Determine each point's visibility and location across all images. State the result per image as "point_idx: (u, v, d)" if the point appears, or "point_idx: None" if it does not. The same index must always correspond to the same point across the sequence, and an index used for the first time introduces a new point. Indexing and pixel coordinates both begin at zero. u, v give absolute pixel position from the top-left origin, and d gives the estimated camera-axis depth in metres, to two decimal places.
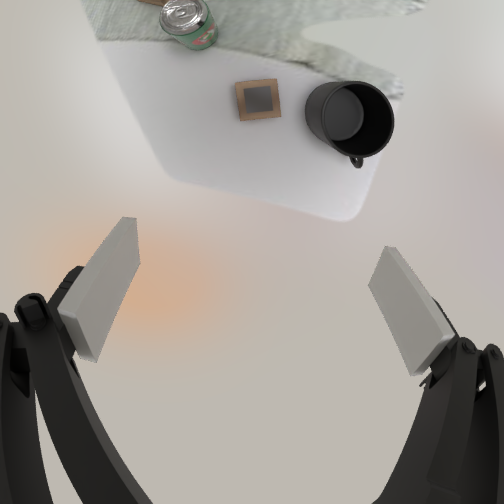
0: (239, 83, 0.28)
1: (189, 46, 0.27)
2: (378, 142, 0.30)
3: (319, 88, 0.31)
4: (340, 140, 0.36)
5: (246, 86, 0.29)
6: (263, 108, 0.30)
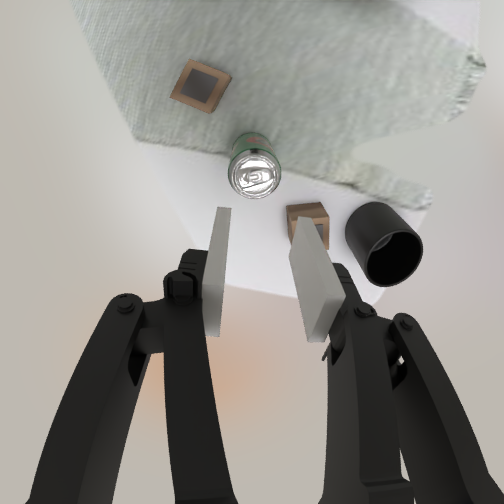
0: (295, 221, 0.35)
1: None
2: (405, 269, 0.36)
3: (362, 215, 0.37)
4: (371, 251, 0.43)
5: None
6: None
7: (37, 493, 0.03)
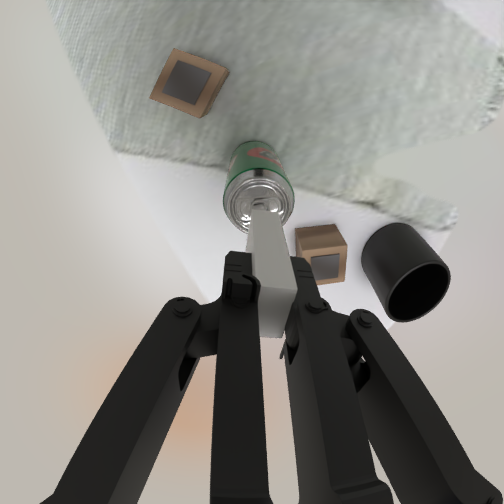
0: (307, 251, 0.29)
1: None
2: (428, 300, 0.30)
3: (383, 239, 0.31)
4: None
5: (314, 254, 0.29)
6: (328, 275, 0.31)
7: (62, 489, 0.03)
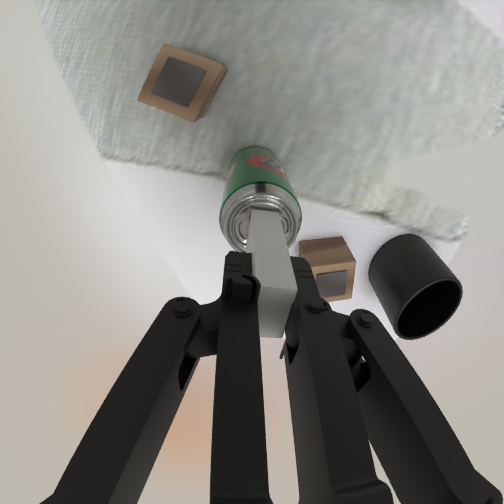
0: (312, 268, 0.26)
1: None
2: (437, 316, 0.28)
3: (393, 253, 0.29)
4: None
5: (320, 271, 0.27)
6: (335, 293, 0.28)
7: (62, 489, 0.03)
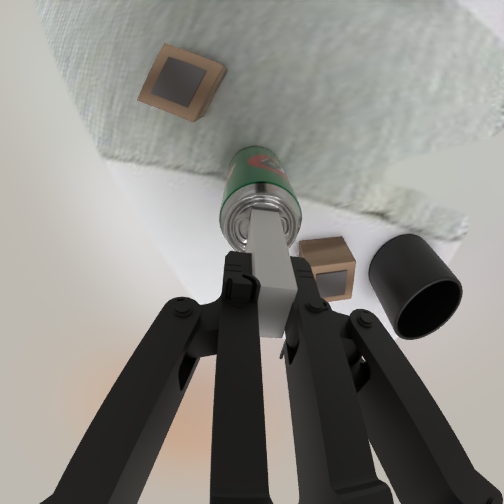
0: (312, 268, 0.26)
1: None
2: (437, 316, 0.28)
3: (393, 253, 0.29)
4: None
5: (320, 271, 0.27)
6: (334, 293, 0.28)
7: (62, 489, 0.03)
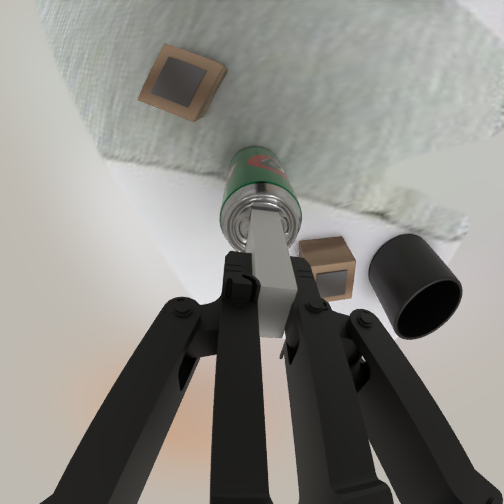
0: (312, 267, 0.26)
1: None
2: (437, 316, 0.28)
3: (393, 253, 0.29)
4: None
5: (320, 271, 0.27)
6: (335, 293, 0.28)
7: (62, 489, 0.03)
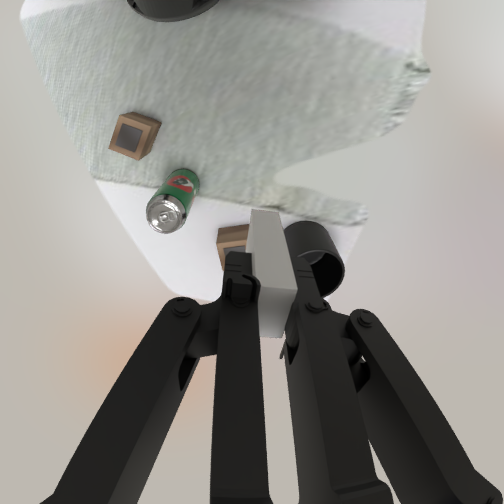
0: (219, 244, 0.41)
1: None
2: (331, 284, 0.42)
3: (287, 234, 0.43)
4: None
5: (225, 246, 0.41)
6: None
7: (62, 489, 0.03)
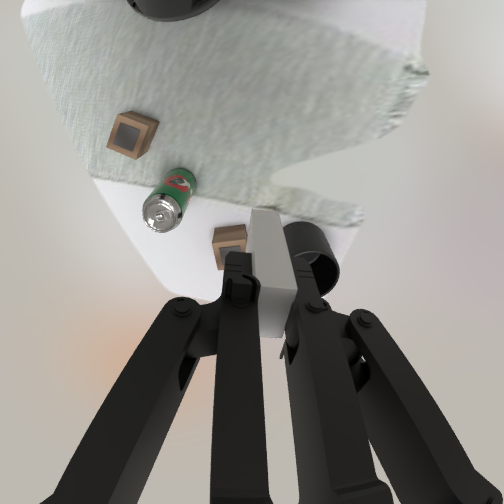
0: (215, 243, 0.41)
1: None
2: (326, 285, 0.43)
3: None
4: None
5: (221, 246, 0.41)
6: None
7: (62, 489, 0.03)
